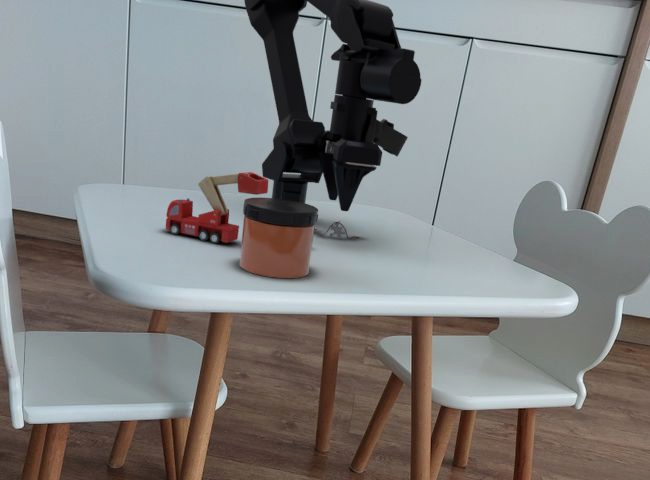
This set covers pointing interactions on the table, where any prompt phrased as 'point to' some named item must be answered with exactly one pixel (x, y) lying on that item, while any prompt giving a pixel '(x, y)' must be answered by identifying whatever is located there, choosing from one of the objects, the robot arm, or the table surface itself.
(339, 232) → the pendant
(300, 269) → the jar
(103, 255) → the table surface
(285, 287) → the table surface
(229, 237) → the toy fire truck
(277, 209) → the jar lid
